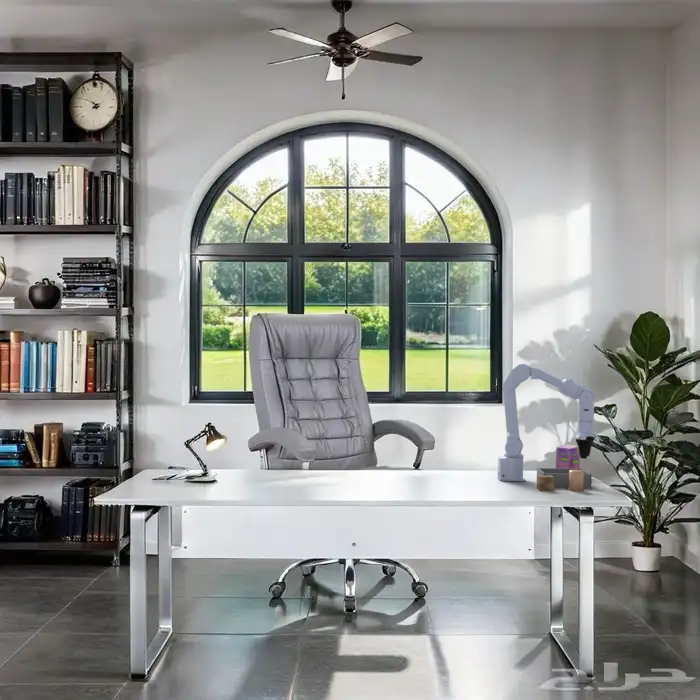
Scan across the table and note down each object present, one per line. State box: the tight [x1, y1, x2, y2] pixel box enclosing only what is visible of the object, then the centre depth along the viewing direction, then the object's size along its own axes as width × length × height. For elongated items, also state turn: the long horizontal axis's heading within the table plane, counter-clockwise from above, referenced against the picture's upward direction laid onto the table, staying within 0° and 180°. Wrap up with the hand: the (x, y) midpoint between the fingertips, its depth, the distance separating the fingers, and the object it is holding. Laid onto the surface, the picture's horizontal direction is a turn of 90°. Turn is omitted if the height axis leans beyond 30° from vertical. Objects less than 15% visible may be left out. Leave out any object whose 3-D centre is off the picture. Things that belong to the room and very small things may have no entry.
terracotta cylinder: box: [568, 470, 584, 492], centre depth 323 cm, size 5×5×7 cm
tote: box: [536, 467, 592, 489], centre depth 334 cm, size 17×13×5 cm
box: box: [555, 444, 581, 469], centre depth 354 cm, size 10×6×12 cm, turn 143°
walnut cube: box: [536, 474, 554, 492], centre depth 323 cm, size 5×5×5 cm
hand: (584, 457), depth 337 cm, fingers open, 7 cm apart
